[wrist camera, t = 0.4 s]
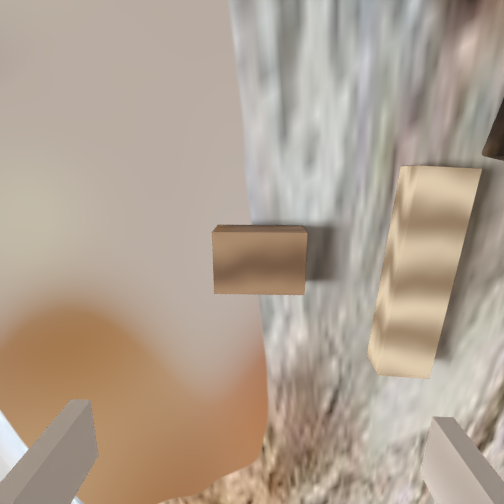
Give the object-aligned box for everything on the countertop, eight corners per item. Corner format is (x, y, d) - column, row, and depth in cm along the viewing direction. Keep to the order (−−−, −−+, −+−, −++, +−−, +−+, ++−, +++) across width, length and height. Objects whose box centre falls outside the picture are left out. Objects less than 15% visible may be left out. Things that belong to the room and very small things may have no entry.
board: (400, 166, 32) (419, 165, 29) (455, 169, 32) (482, 168, 28) (367, 355, 39) (378, 375, 35) (412, 358, 39) (429, 378, 35)
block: (218, 224, 35) (212, 232, 31) (301, 225, 35) (307, 232, 30) (219, 279, 37) (214, 293, 33) (299, 280, 37) (304, 295, 32)
